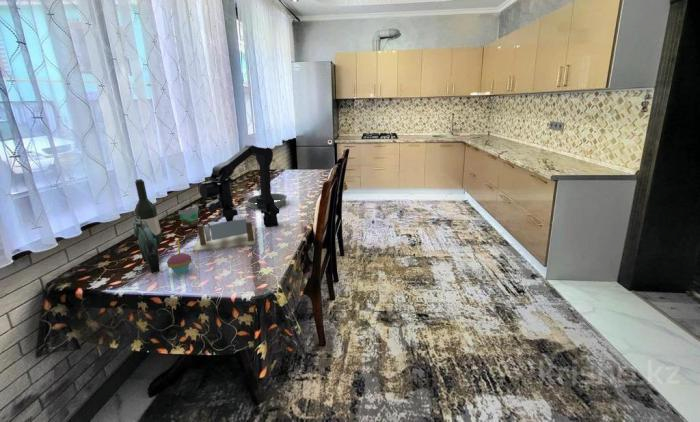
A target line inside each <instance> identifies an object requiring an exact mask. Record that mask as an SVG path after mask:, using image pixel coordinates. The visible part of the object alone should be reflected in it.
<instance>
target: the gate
mask: <svg viewBox="0 0 700 422" xmlns="http://www.w3.org/2000/svg"><path fill="white" fill-rule="evenodd" d="M247 219H248V218H246V217H243V218H238V219H233V220H231V221H226V220H225V221H221V222H216V223H210V224H205V225H204V224H203V228H204V232H205V235H206V241H211V236H212V240H216V239H221V238H226V237H231V236H236V235H241V234H246V233H247V228H246V223H245V222H246V221H247ZM210 231H211V236H210Z"/></svg>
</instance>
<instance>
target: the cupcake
mask: <svg viewBox="0 0 700 422" xmlns="http://www.w3.org/2000/svg"><path fill="white" fill-rule="evenodd" d="M176 244H177V251H178V253H176V254H172V255H171V256H170V257H169V258H168V259H167V260H166V264H167V265H166V266H167V267H168V268H171V270H172V271H173V273H174V274H175V275H184V274H187V273H188V272H189V268H190V264H191V263H192V255H190V254H189V253H183V252H181V246H180V242H179V240H177V242H176Z"/></svg>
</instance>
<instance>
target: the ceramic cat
mask: <svg viewBox="0 0 700 422" xmlns="http://www.w3.org/2000/svg"><path fill="white" fill-rule="evenodd" d="M134 219H135V220H134V221H135V222H133V223H132V224H133V235H134V237H135V238H137V239H138V246H139V250H140V255H141V258H142V261H143V262H144V263H145V262H147V265H148V269H149V271H150V273H151V274H155V273H154V272H156V273H160V272H159V271H161V269H160V259H159V249H158V248H159V247H158V244H157V240H156V237H155V234H154V233H153V232H152V231H151V230H150V228H149V226H148V224H147V222H146V221H145V220H143V221H141V217H140V216H139V219H140V221H139V220H137V218H134Z"/></svg>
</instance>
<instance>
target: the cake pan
mask: <svg viewBox="0 0 700 422" xmlns="http://www.w3.org/2000/svg"><path fill="white" fill-rule="evenodd" d="M260 195H261V194H258V195H254V196H251V197H249V198H248V199H246V203H248V205H249V208H250V209H253V210H257V209H258V206H257V204H255V203H257V198H259V197H260ZM271 195H272V197H273V199H274V200H280V201H277V202H274V203H275V206H276V207H278V208H280V206H281V207H283V206H284V205H285V204H286V199H287V198H288V196H287V195H285V194H283V193H271ZM282 205H283V206H282ZM258 210H259V209H258ZM259 211H260V210H259Z"/></svg>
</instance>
